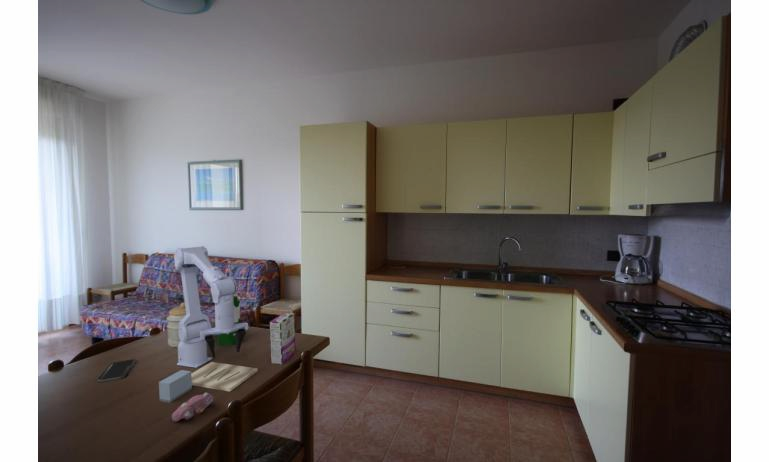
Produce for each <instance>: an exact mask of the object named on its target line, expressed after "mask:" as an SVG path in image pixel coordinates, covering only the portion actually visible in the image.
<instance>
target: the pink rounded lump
mask: <svg viewBox="0 0 769 462" xmlns="http://www.w3.org/2000/svg"><path fill="white" fill-rule="evenodd" d="M213 402H214V396H213V395H212V394H211V393H209V392H207V391H206V392H204V393H203V394H197V395H194V396H192V397H191V398H190V399H188V400H187V401H185V402H183V403H182V404H181V405H180V406H178V407H177V409H175V411H173V413H172V414H171V420H172V421H173V422H179V421H180V420H182V419H185V420H186V421H187V420H191V418H193V417H194V414H195V412H196V413H197V415H199V414H201V413H203V412H205V410H206V409H207V407H209V406H210V405H211V404H212V403H213ZM194 410H195V412H194Z"/></svg>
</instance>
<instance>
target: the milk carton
mask: <svg viewBox="0 0 769 462" xmlns="http://www.w3.org/2000/svg"><path fill="white" fill-rule="evenodd" d="M233 302H234V324H238V323H241V305H242V299H238V296H234V295H233ZM216 336H217V337H216V341H217V342H216V345H220V346H233V345H236V335H235V331H234V332H229V333H224V334H219V335H216Z"/></svg>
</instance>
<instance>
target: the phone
mask: <svg viewBox="0 0 769 462" xmlns="http://www.w3.org/2000/svg"><path fill="white" fill-rule="evenodd" d="M136 362H137V360H136V359H135V358H133V359H126V360H125V359H124V360H118V361H112V362H111V363H110V364H108V366H107V367H106V369H105V370H104V371H103V372H102V373H101V374H100V375H99V377H98V378H97V381H96V382H97V383H106V382H110V381H116V380H117V381H118V380H123V379H125V378H126V377H127V376H128V374H129V373H130V371H131V369H132V368H133V367H134V365H135V364H136Z"/></svg>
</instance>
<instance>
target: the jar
mask: <svg viewBox="0 0 769 462" xmlns="http://www.w3.org/2000/svg"><path fill="white" fill-rule="evenodd" d="M168 314H169V315H167V316H166V320H167V325H166V327H167V329H166V330H167V340H166V341H167V344H168V346H169V347H171V348H178V345H179V343H180V341H181V340H180V338H179V333H178V331H179V322H180V321H181V320H182V319H183V318H184V317H185V316H186V308H185V301H184V302H181V303H180V305H178V306H176V307H175V306H174V307H173V308H172V309H171V310H169V311H168ZM198 321H201V320H198ZM198 321H194V322H198ZM194 322H190V323H194ZM190 323H188V324H190Z"/></svg>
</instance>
